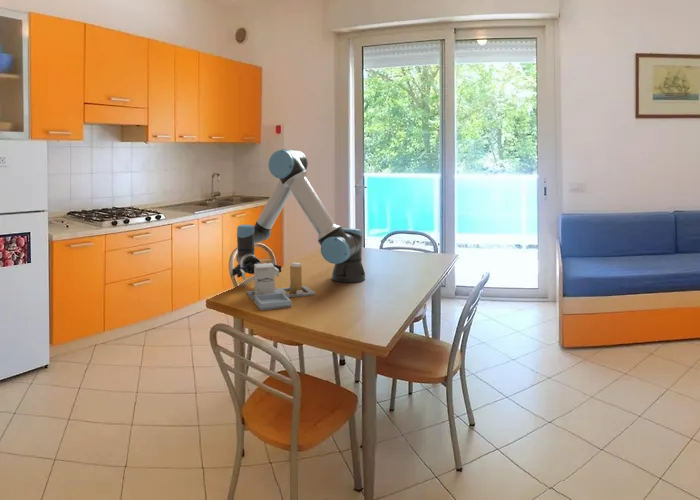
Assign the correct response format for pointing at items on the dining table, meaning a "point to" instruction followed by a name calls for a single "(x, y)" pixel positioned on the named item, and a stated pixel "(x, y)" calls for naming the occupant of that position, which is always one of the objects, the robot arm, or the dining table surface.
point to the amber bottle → (295, 277)
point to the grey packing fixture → (283, 290)
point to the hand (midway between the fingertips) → (261, 274)
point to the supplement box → (264, 279)
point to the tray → (272, 301)
